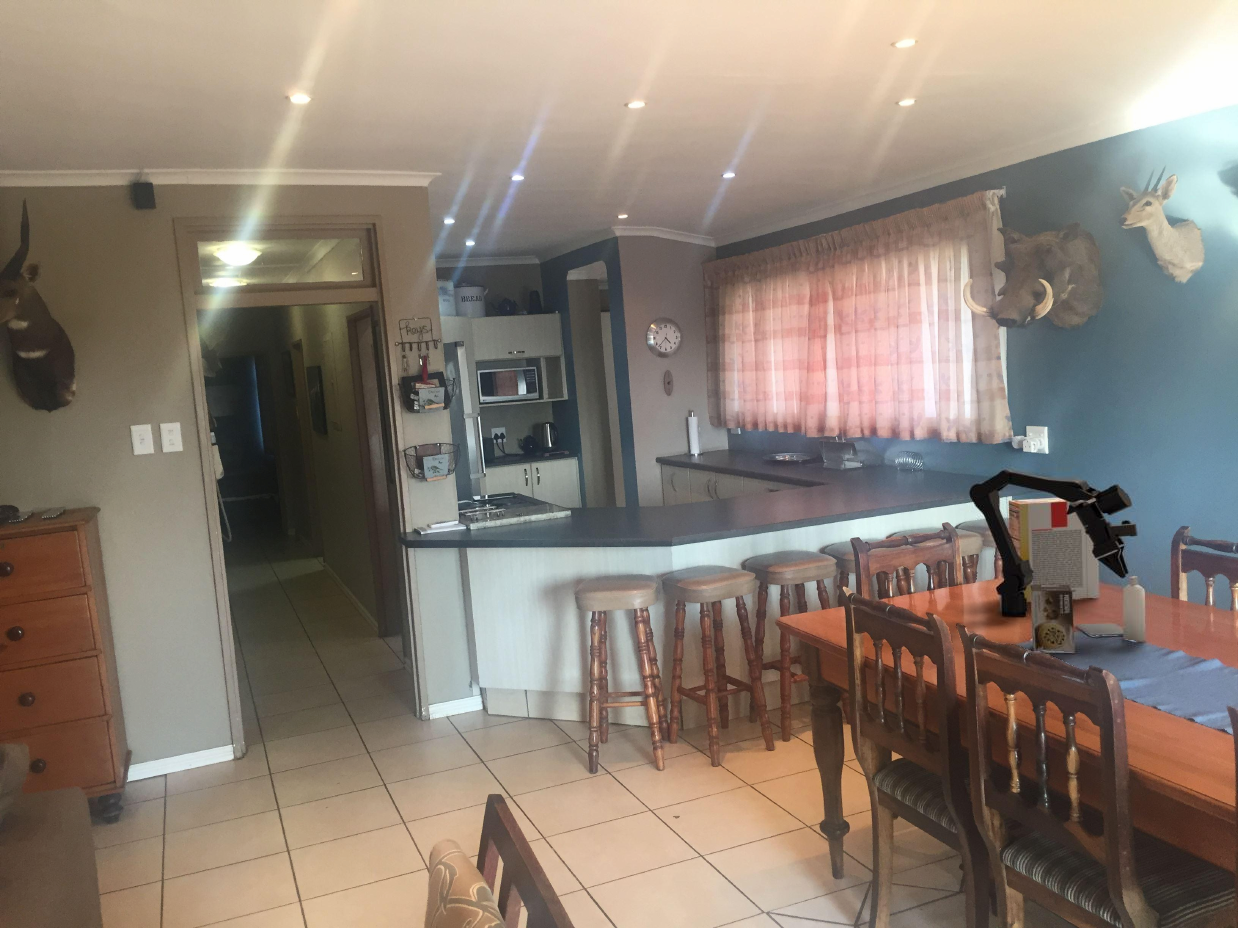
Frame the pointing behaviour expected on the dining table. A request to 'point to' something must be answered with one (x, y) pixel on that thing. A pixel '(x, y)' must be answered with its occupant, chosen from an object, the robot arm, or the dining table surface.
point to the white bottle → (1134, 611)
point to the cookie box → (1052, 618)
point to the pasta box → (1054, 545)
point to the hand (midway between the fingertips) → (1125, 575)
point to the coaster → (1101, 629)
